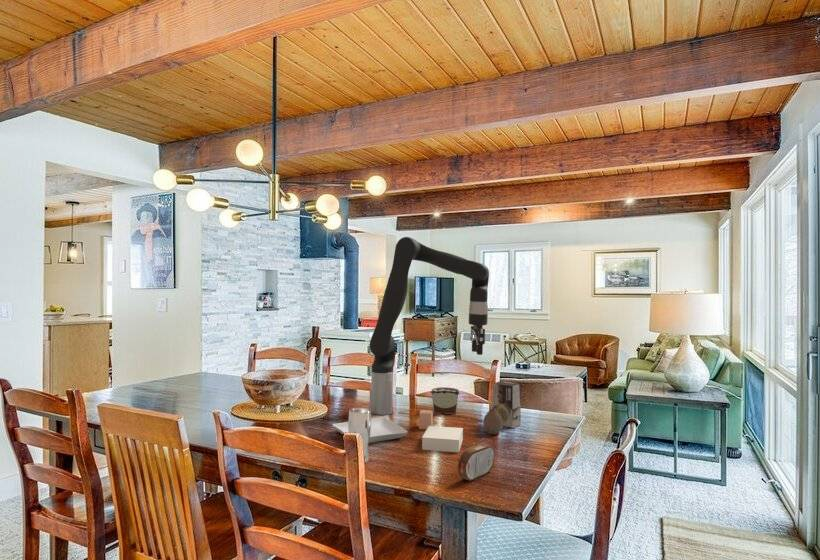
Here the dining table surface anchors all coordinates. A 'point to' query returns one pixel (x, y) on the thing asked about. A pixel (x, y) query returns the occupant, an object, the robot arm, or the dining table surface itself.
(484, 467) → the tin
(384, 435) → the salad plate
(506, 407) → the coffee box
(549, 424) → the dining table surface
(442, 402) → the food container
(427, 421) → the light pinkish-tan block
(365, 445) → the beer glass
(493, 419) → the vase
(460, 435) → the plinth
